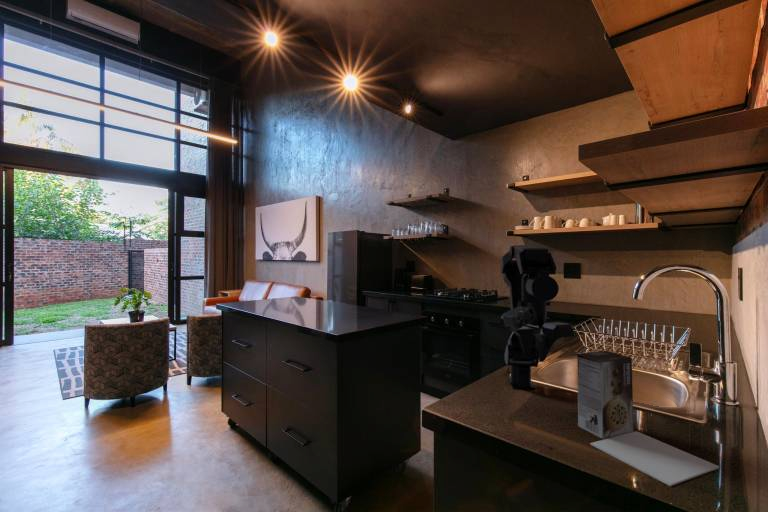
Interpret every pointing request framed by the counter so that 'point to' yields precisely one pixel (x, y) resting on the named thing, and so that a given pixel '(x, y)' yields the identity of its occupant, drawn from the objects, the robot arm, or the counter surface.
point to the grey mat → (655, 457)
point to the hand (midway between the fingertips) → (534, 359)
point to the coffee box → (605, 393)
